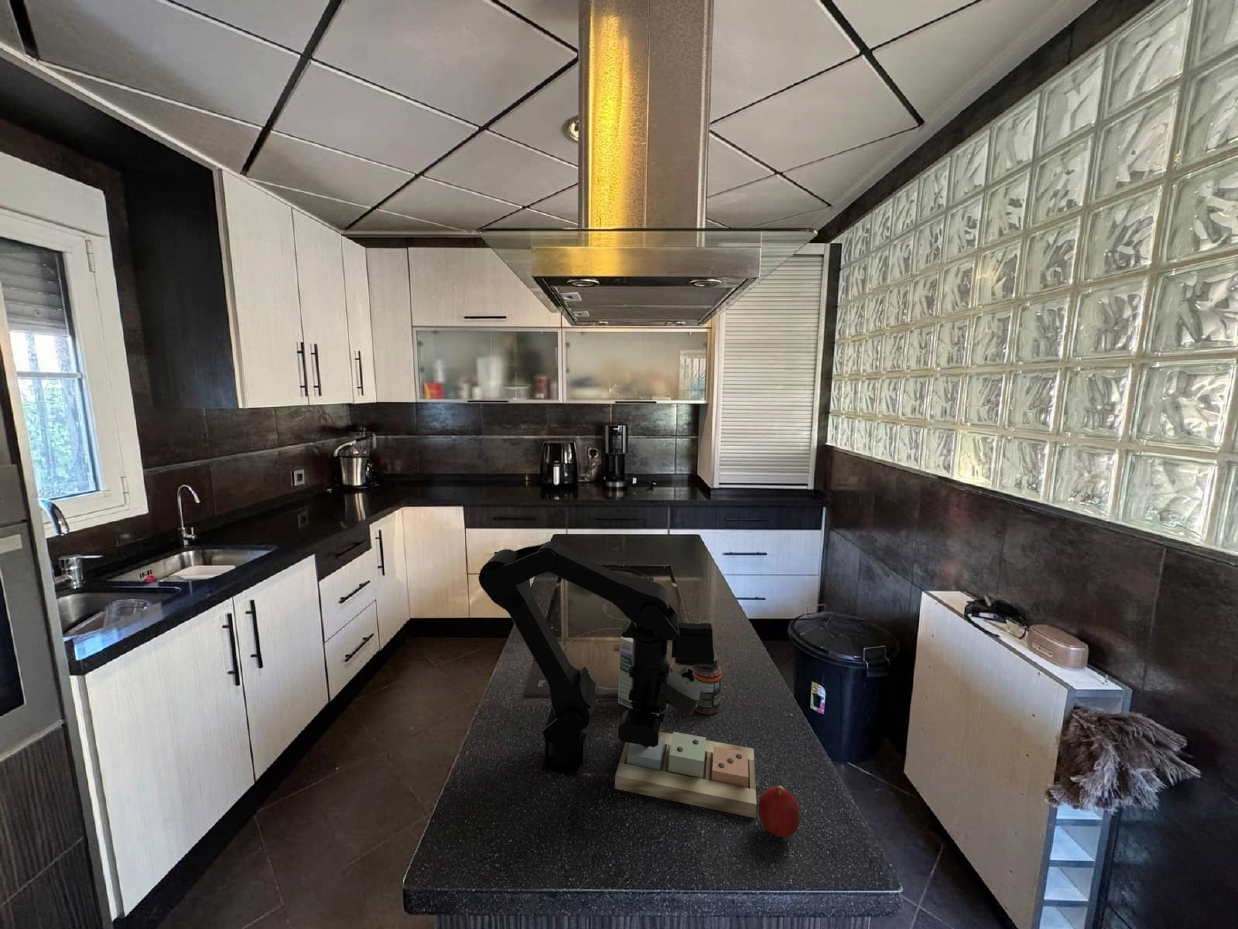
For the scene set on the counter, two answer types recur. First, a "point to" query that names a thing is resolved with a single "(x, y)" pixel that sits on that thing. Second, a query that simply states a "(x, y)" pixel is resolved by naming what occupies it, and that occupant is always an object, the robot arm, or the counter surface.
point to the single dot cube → (646, 755)
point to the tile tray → (690, 782)
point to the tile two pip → (687, 754)
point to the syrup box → (625, 671)
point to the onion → (779, 811)
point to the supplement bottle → (709, 687)
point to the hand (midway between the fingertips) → (646, 745)
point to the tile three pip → (730, 767)
